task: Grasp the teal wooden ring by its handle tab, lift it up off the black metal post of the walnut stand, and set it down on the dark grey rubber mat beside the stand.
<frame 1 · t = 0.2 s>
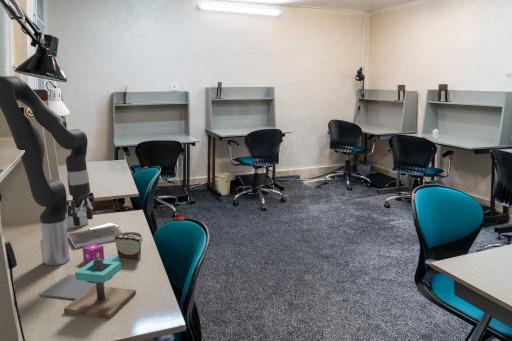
hand: (83, 222, 167), 17 cm above the table, tool pointing down, fingers open, 8 cm apart
stand: (101, 303, 140), on the table
puzzle toy: (94, 260, 175), on the table
external hard drive: (103, 230, 213), on the table, touching picture frame
picture frame: (96, 239, 200), on the table, touching external hard drive
light bulb box: (76, 225, 219), on the table
mat: (73, 287, 151), on the table
ring: (99, 274, 138), point 10 cm above the table, touching stand
food container: (132, 257, 177), on the table
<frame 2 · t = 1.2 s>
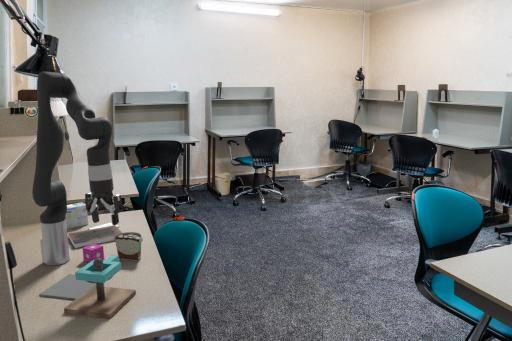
hand: (105, 223, 147), 23 cm above the table, tool pointing down, fingers open, 8 cm apart
nothing on the table moved.
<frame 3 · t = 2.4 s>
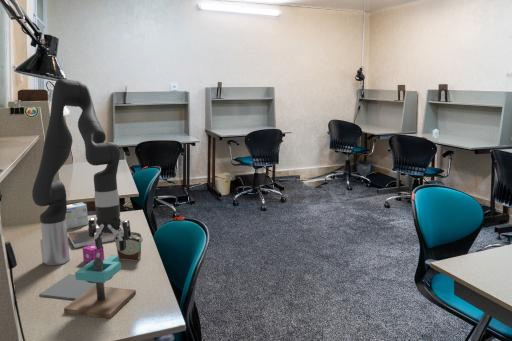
hand: (111, 249, 144), 16 cm above the table, tool pointing down, fingers open, 8 cm apart
external hard drive: (103, 230, 213), on the table
picture frame: (96, 238, 200), on the table
everything else where it was.
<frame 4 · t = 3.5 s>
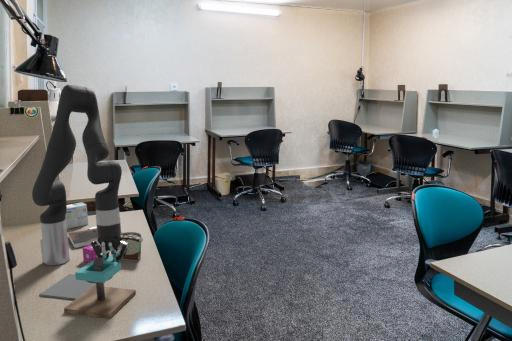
hand: (112, 269, 146), 8 cm above the table, tool pointing down, fingers closed on ring, 2 cm apart
ring: (99, 274, 138), point 10 cm above the table, touching gripper
everything else where it was.
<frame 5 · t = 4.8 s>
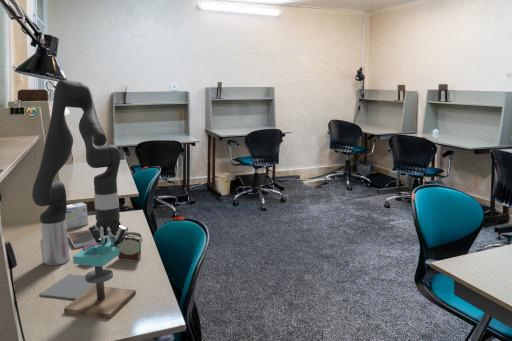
hand: (110, 254, 144), 14 cm above the table, tool pointing down, fingers closed on ring, 2 cm apart
external hard drive: (103, 230, 213), on the table, touching picture frame
picture frame: (96, 239, 200), on the table, touching external hard drive
ring: (97, 258, 137), point 15 cm above the table, touching gripper
everything else where it was.
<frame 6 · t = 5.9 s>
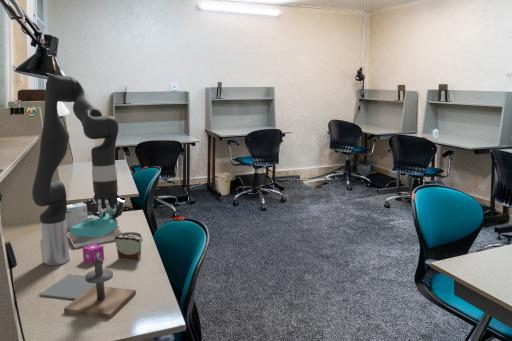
hand: (108, 228, 143), 23 cm above the table, tool pointing down, fingers closed on ring, 2 cm apart
external hard drive: (103, 230, 213), on the table
picture frame: (96, 239, 200), on the table
ring: (95, 231, 135), point 25 cm above the table, touching gripper
everything else where it was.
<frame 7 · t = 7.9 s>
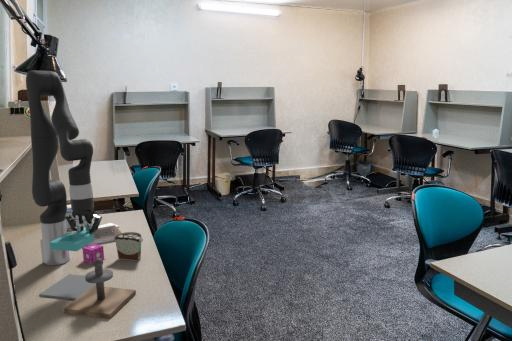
hand: (86, 241, 155), 14 cm above the table, tool pointing down, fingers closed on ring, 2 cm apart
external hard drive: (103, 230, 213), on the table, touching picture frame
picture frame: (96, 239, 200), on the table, touching external hard drive
ring: (72, 245, 148), point 16 cm above the table, touching gripper
everything else where it was.
when the fingers open (1 cm above the table, at t = 10.1 s): ring drops 2 cm, resting on mat.
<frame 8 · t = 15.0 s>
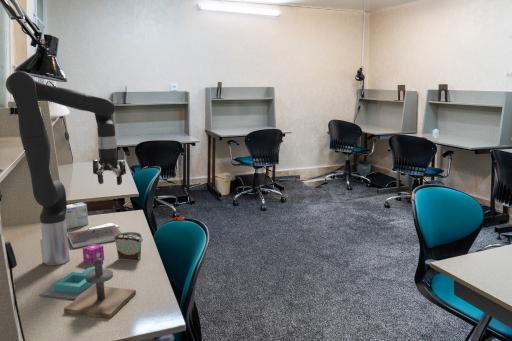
hand: (110, 184, 184), 28 cm above the table, tool pointing down, fingers open, 8 cm apart
ring: (76, 285, 151), point 1 cm above the table, touching mat
everything else where it was.
at the end: ring inside the target area (0.9 cm from its centre), point 0.6 cm above the table; ring touching mat; the gripper is holding nothing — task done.
